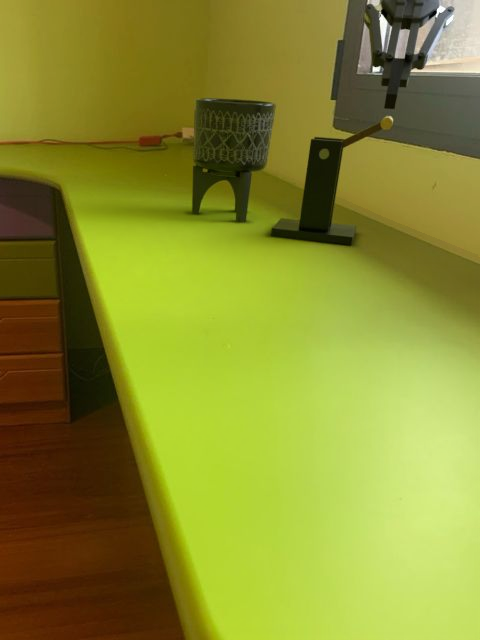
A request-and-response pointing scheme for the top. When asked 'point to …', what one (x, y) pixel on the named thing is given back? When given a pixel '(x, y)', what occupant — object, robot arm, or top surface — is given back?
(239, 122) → the planter
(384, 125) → the lever
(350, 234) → the bracket
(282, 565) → the top surface
